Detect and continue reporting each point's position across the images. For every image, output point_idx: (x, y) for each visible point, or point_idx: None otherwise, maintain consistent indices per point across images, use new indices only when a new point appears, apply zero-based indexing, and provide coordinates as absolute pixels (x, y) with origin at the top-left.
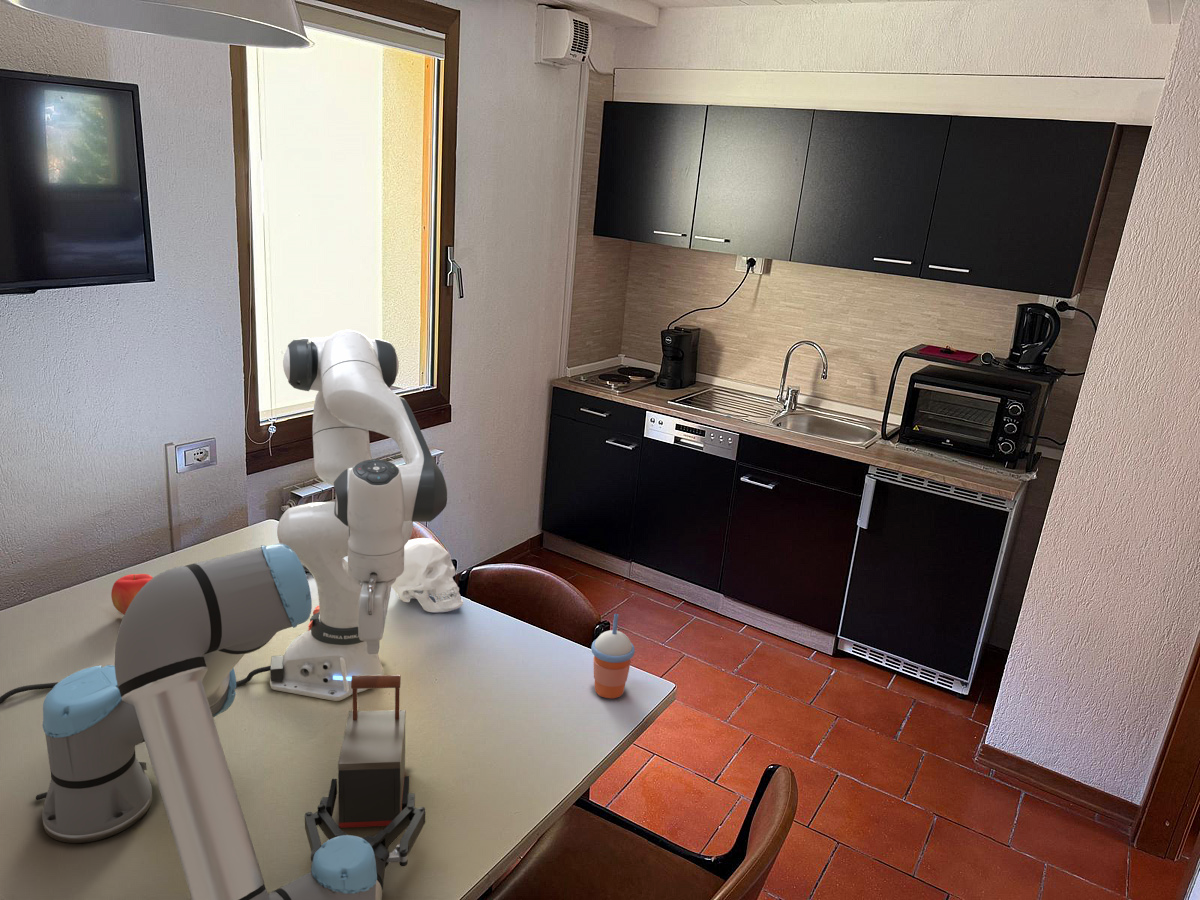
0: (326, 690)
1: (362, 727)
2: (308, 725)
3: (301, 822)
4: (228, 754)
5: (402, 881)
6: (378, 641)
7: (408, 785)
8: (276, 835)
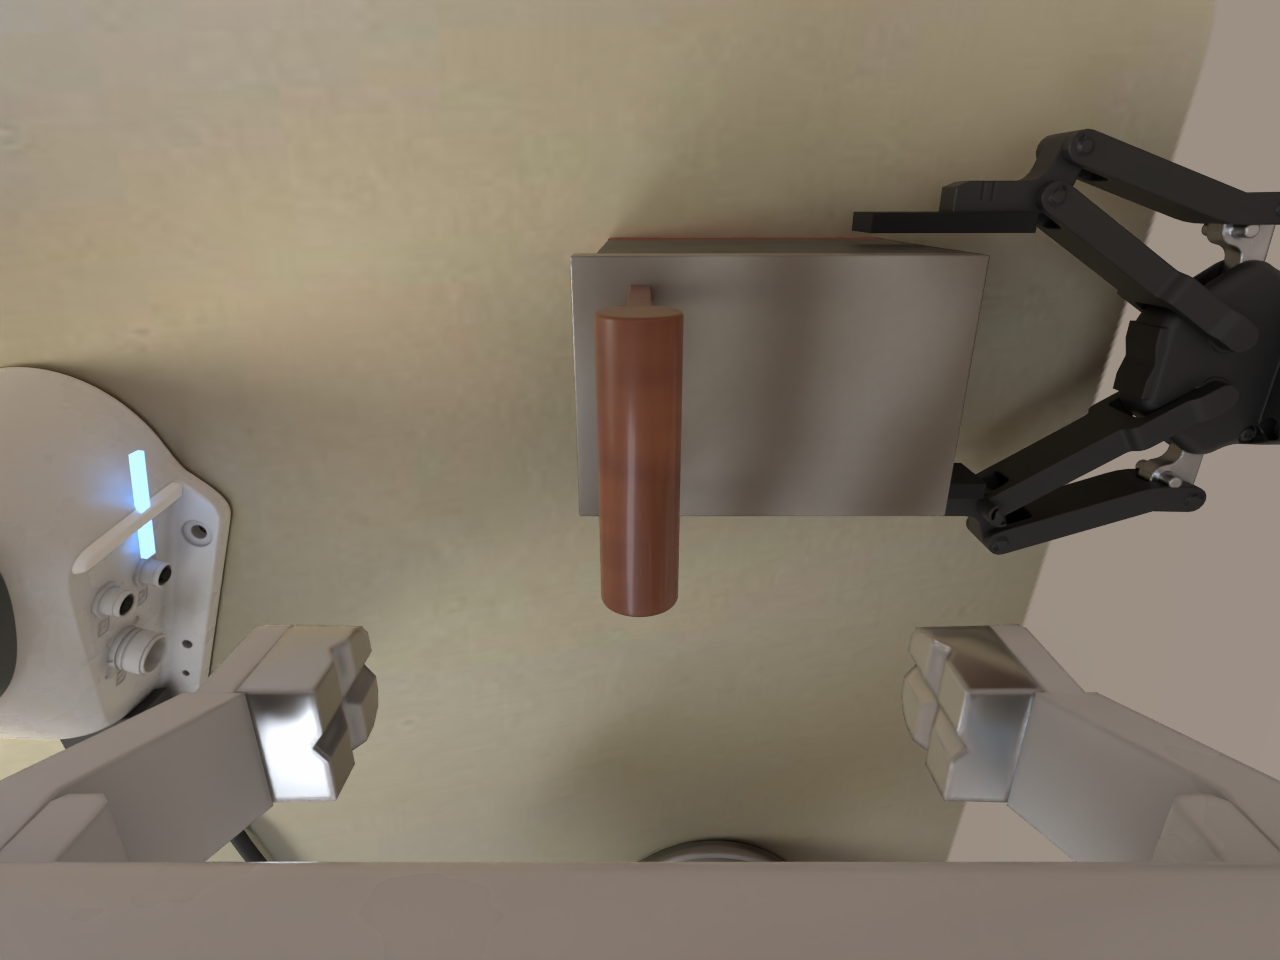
0: (189, 552)
1: (705, 448)
2: (373, 571)
3: (814, 523)
4: (520, 737)
5: (1120, 211)
6: (1188, 742)
7: (909, 212)
8: (854, 574)
